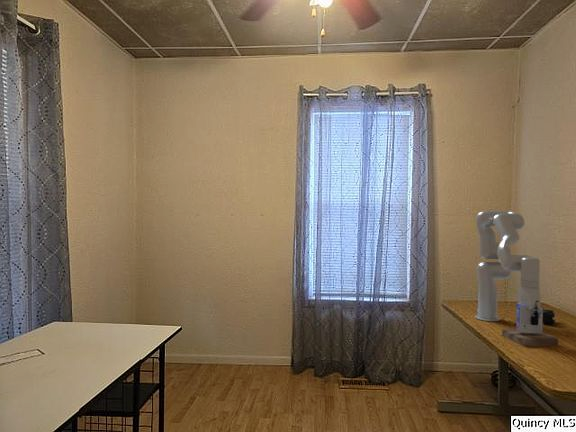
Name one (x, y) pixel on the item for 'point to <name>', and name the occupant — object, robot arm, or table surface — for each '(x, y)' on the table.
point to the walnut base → (530, 338)
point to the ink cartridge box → (527, 320)
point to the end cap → (548, 317)
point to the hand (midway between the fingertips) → (529, 322)
